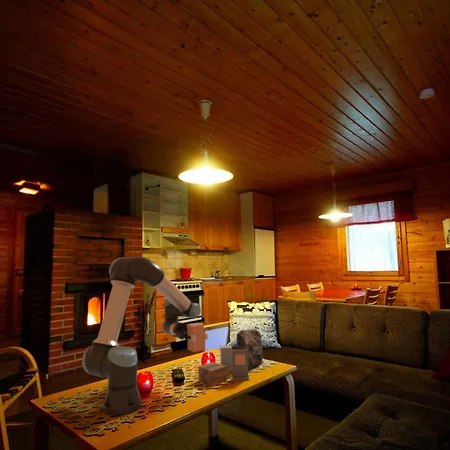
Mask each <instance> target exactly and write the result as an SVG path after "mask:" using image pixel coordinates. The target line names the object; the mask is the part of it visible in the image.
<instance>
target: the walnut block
mask: <svg viewBox="0 0 450 450" xmlns="http://www.w3.org/2000/svg"><path fill="white" fill-rule="evenodd" d="M227 374H228V371H227V366H224V365H221V363H218V362H215V361H213V362H210V363H206V364H203V365H200V366H198V381H199V382H200V383H203V384H206V385H209V386H215V385H218V384H221V383H224V382H226V381H228V375H227Z"/></svg>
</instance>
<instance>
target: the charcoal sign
mask: <svg viewBox="0 0 450 450" xmlns="http://www.w3.org/2000/svg"><path fill="white" fill-rule="evenodd" d="M231 372H232V373H231V374H232V381H233V382H238V381H250V377H249V368H248V349H246V350H236V349H232V371H231Z"/></svg>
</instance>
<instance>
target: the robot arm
mask: <svg viewBox="0 0 450 450" xmlns="http://www.w3.org/2000/svg"><path fill="white" fill-rule="evenodd" d="M108 273H109V277H110V283H111V285H112V288H111V292H110V294H109V299H108V302H107V305H106V309H105V312H104V316H103V319H102V322H101V325H100V329H99V332H98V335H97V338H96V339H94V340H93V341H92V343H91V346H90V347H88V348H87V349H85V351H84V353H83V355H82V359H81V365H82V368H83V370H84V371H85V372H86V374H90V375H91V376H93V377H100V378H103V379H107V391H106V395H105V398H104V401H103V406H102V411H103V413H104V414H107V415H111V416H119V415H121V416H122V415H127V414H131V413H133V412H135V411H137V410H139V409H141V407H142V398H141V395H140V391H139V388H138V360H139V359H138V355H137V354H138V353H137V350H136V349H135V348H133V347H131V346H123V345H119V343H118V340H119V339H118V338H119V335H120V332H121V328H122V324H123V321H124V316H125V312H126V310H127V309H126V308H127V305H128V301H129V298H130V294H131V291H132V289H134V288H135V287H136V285H137V282H141V283H145V284H147V285H148V286H149V287H151V288H153V287H154V288H155V289H156V290H157V292H159V293H160V294H161V295H162V296H163V297H164V298H165V300H164V306H163V307H164V320H163V322H162V324H161V329H162V330H163V332H165V333H166V334H167V335H171V336H173V337H175V338H178V339H179V340H182V341H184V342H188V340H191V341H193V342H196V336H195V335H192V334H188V335H187V324H185V323H183V322H181V321H179V317H180V318H182V317H183V318H190V319H194V318H195V319H196V318H198V317H199V316H200V314H201V312H202V311H201V309H202V307H201V306H200V303H196V302H192V301H191V300H190V299H189V298H188V297H187V296H186V295H185V294H184V293H183V292H182V291H181V290H180V289H179V288H178V287H177V286H176V285H175V284H174V283H173V282H172V281H171V280H170V279H169V278H168V277H167V276H166V274H165V271H164V270H163V269H162V268H161V267H160V266H159V265H158V264H157V263H155V262H154V261H152V260H150V259H149V258H146V257H144V256H123V257H122V256H121V257H118V258H116V259H114V260H112V262H111V264H110V266H109V268H108ZM204 340H209V334H208V332H206V330H205V329H204Z"/></svg>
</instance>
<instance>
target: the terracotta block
mask: <svg viewBox="0 0 450 450" xmlns="http://www.w3.org/2000/svg"><path fill="white" fill-rule="evenodd" d="M186 325H187V335H188V334H192V335H195V336H196V342H193V341H191V340H188V339H187V350H188V351H191V352H193V353H196V352H201V351H205V350H206V349H205V339H204V330H205V324H203V323H200V322H194V323H187V324H186Z"/></svg>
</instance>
